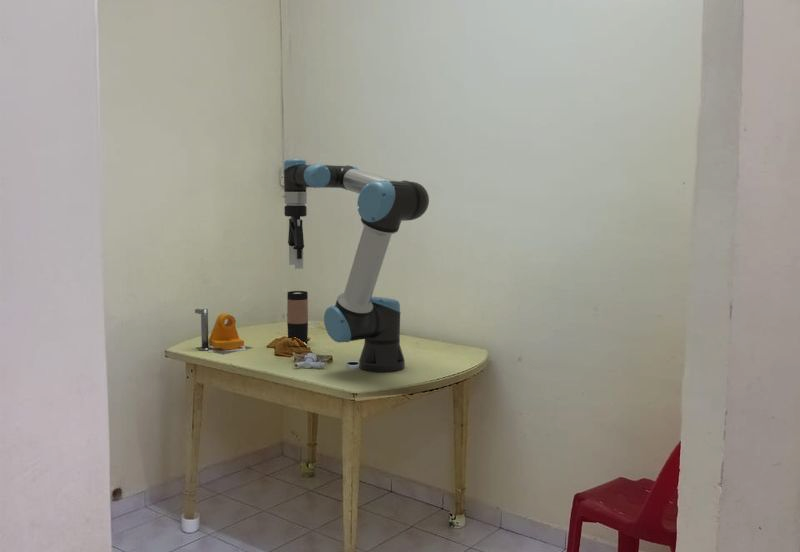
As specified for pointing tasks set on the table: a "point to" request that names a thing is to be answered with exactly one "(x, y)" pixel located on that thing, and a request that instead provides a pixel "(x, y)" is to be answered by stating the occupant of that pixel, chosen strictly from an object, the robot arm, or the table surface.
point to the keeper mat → (220, 351)
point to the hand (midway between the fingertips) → (296, 266)
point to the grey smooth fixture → (204, 329)
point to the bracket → (225, 333)
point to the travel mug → (297, 315)
